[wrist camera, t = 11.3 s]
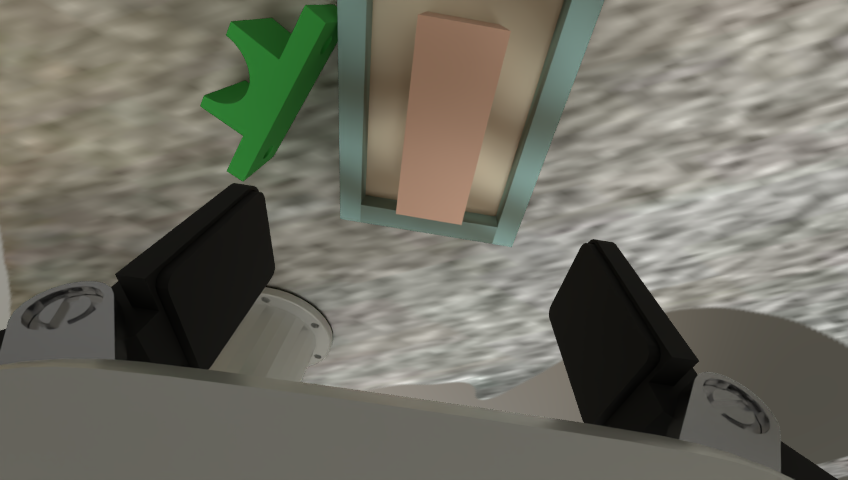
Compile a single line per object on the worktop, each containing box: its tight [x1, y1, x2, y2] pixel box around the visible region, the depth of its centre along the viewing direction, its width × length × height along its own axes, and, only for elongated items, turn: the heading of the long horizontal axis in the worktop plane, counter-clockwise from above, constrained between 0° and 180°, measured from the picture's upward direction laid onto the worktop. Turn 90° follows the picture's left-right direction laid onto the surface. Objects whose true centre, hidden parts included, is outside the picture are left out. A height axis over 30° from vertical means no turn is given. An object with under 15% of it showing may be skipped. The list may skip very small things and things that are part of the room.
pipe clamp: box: [200, 4, 338, 181], centre depth 20 cm, size 11×4×5 cm, turn 141°
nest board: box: [337, 0, 604, 247], centre depth 21 cm, size 17×13×2 cm
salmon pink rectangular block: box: [396, 11, 511, 225], centre depth 19 cm, size 4×10×5 cm, turn 172°
